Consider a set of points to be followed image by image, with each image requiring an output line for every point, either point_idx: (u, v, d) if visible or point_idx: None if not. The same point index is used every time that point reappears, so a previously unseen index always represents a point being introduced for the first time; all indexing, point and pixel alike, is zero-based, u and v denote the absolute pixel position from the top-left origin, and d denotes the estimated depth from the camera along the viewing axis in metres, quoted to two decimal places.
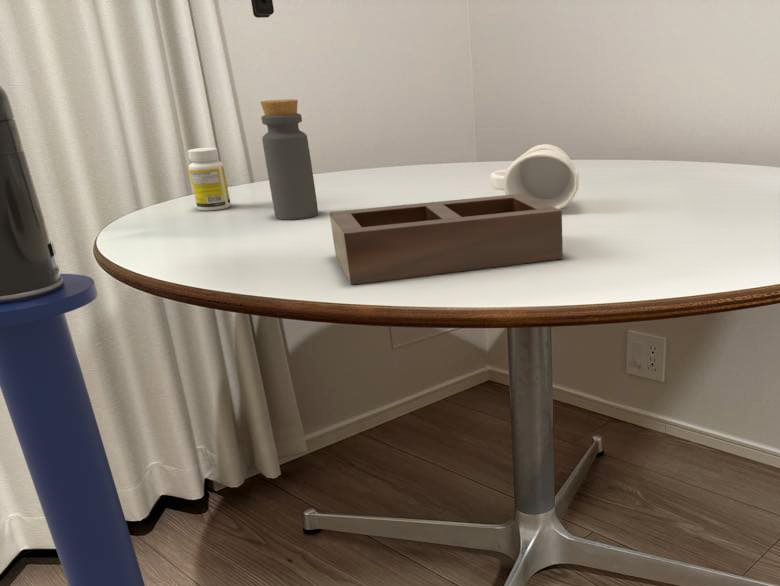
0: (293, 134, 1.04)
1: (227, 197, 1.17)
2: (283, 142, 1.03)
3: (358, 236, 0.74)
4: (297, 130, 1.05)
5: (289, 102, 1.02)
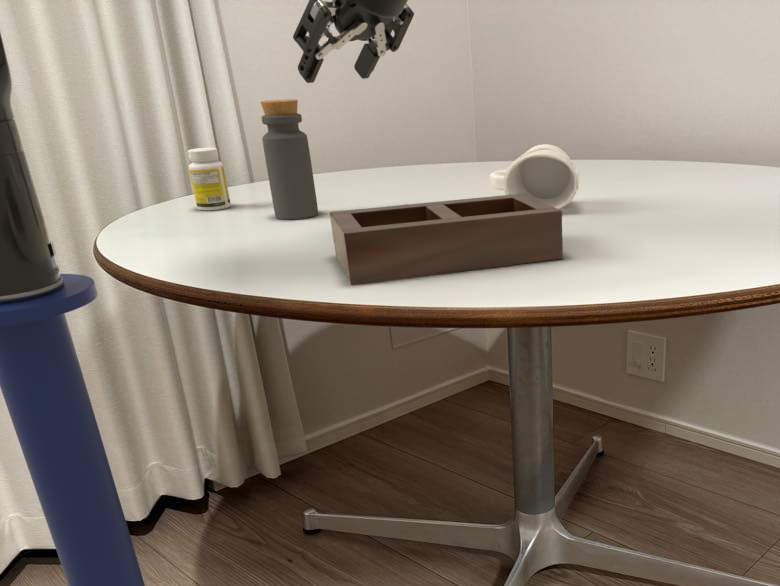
0: (293, 134, 1.04)
1: (227, 197, 1.17)
2: (283, 142, 1.03)
3: (358, 236, 0.74)
4: (297, 130, 1.05)
5: (289, 102, 1.02)
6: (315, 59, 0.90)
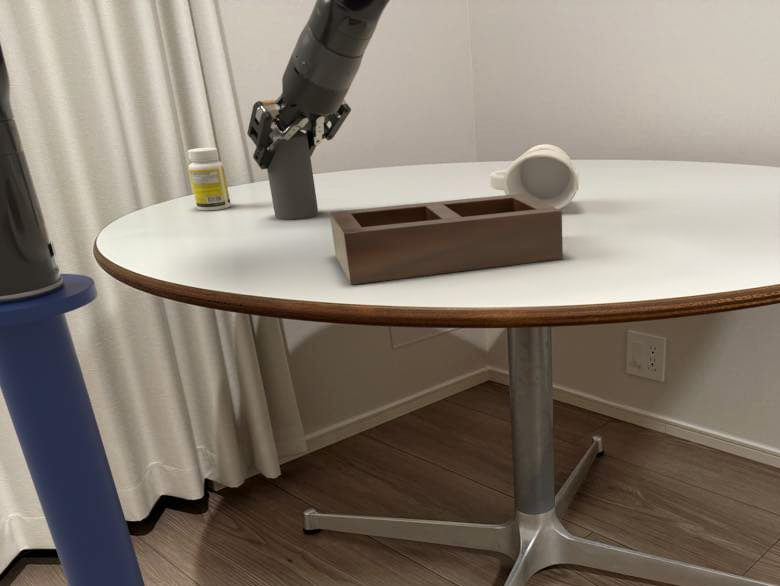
0: None
1: (227, 197, 1.17)
2: (283, 142, 1.03)
3: (358, 236, 0.74)
4: None
5: None
6: (268, 150, 1.03)
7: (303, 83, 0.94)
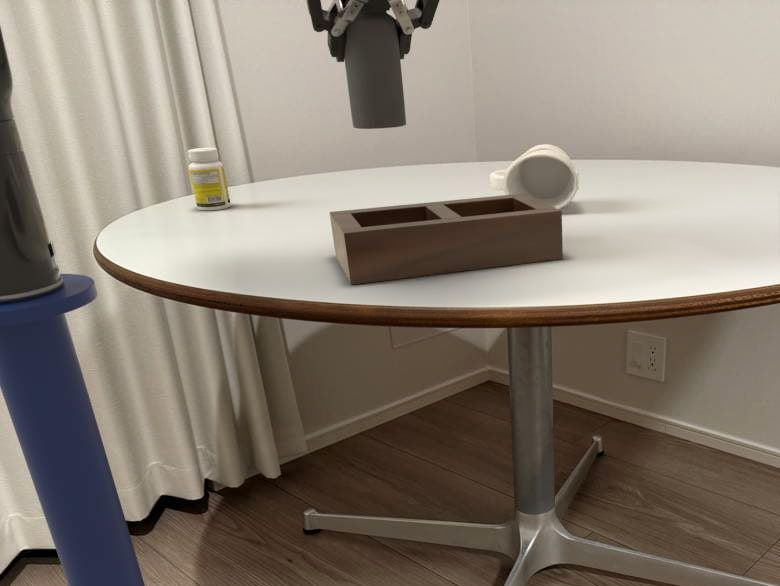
0: (369, 16, 0.80)
1: (227, 197, 1.17)
2: (354, 25, 0.81)
3: (358, 236, 0.74)
4: (379, 12, 0.81)
5: None
6: (336, 36, 0.81)
7: None
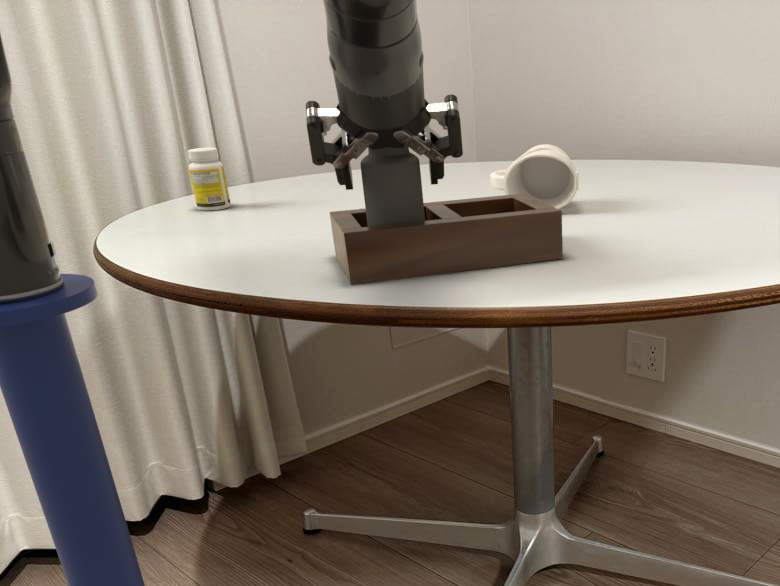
0: (386, 160, 0.76)
1: (227, 197, 1.17)
2: (370, 169, 0.76)
3: (358, 236, 0.74)
4: (397, 154, 0.77)
5: None
6: None
7: (337, 85, 0.66)
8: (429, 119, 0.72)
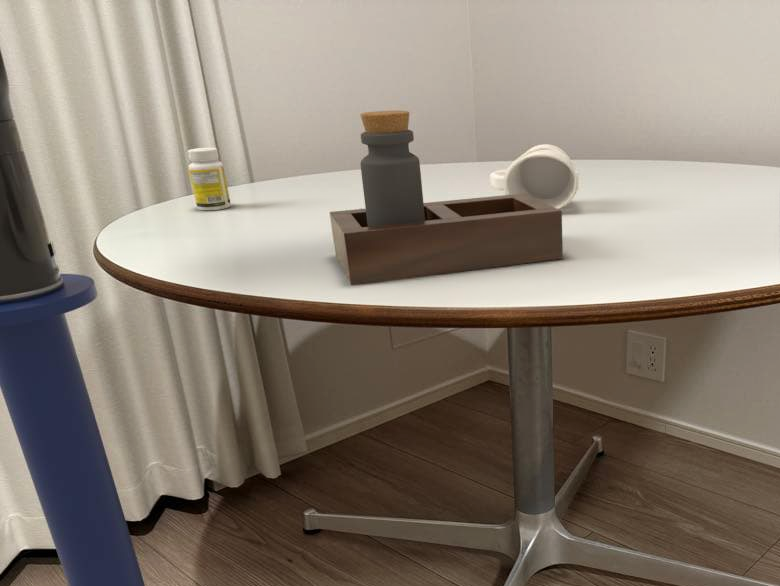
0: (386, 160, 0.76)
1: (227, 197, 1.17)
2: (370, 169, 0.76)
3: (358, 236, 0.74)
4: (397, 154, 0.77)
5: (383, 116, 0.75)
6: None
7: None
8: None
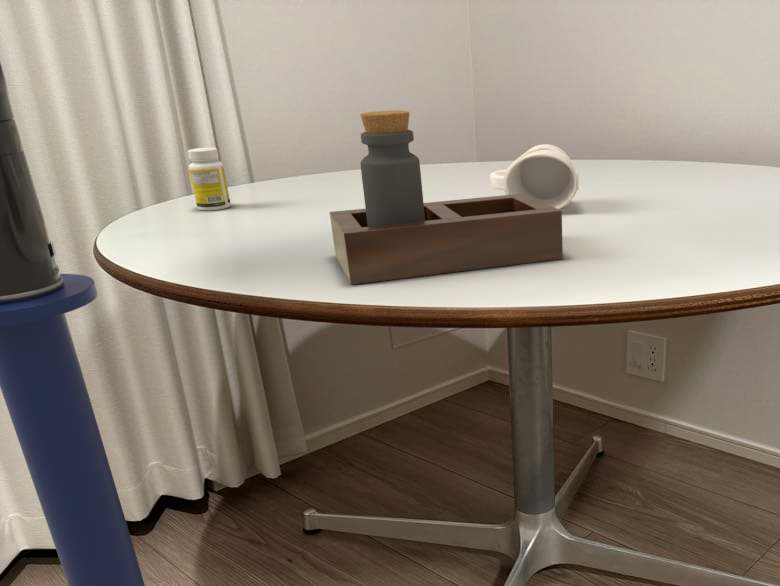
0: (386, 160, 0.76)
1: (227, 197, 1.17)
2: (370, 169, 0.76)
3: (358, 236, 0.74)
4: (397, 154, 0.77)
5: (383, 116, 0.75)
6: None
7: None
8: None
